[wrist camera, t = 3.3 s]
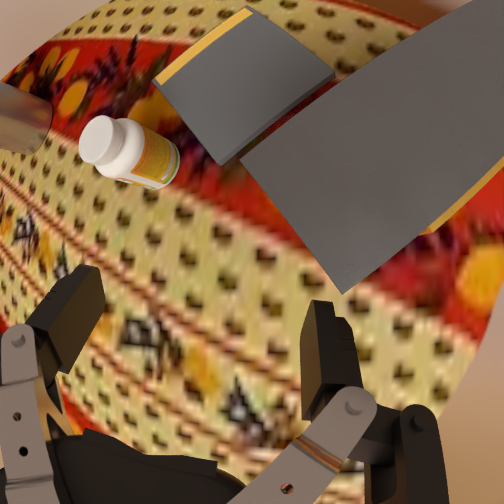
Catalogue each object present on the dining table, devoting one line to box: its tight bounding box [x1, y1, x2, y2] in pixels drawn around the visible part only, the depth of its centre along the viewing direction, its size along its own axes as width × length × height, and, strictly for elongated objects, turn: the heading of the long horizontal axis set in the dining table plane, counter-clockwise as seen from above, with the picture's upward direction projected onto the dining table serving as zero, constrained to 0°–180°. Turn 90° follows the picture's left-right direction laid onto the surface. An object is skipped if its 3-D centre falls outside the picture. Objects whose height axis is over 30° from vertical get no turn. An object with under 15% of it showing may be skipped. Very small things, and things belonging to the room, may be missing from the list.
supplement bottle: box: [79, 115, 180, 190], centre depth 26 cm, size 5×5×10 cm
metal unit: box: [240, 0, 504, 294], centre depth 16 cm, size 7×18×16 cm, turn 127°
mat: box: [152, 5, 336, 166], centre depth 28 cm, size 14×14×1 cm
